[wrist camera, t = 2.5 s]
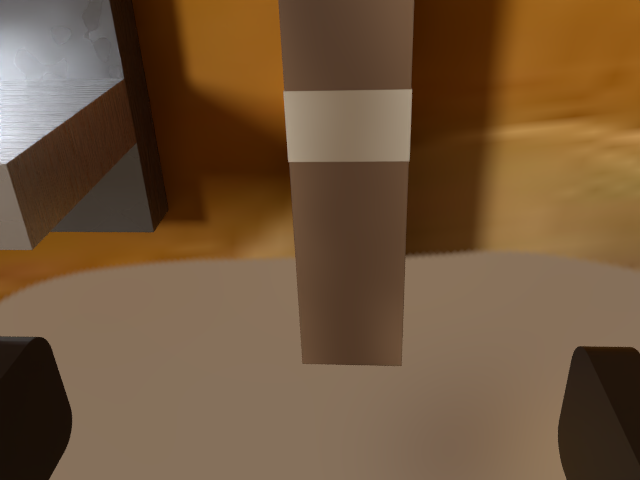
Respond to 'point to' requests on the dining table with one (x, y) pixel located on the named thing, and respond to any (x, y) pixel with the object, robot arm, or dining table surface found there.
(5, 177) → the ridge stand
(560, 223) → the dining table surface
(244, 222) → the dining table surface
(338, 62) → the batten
